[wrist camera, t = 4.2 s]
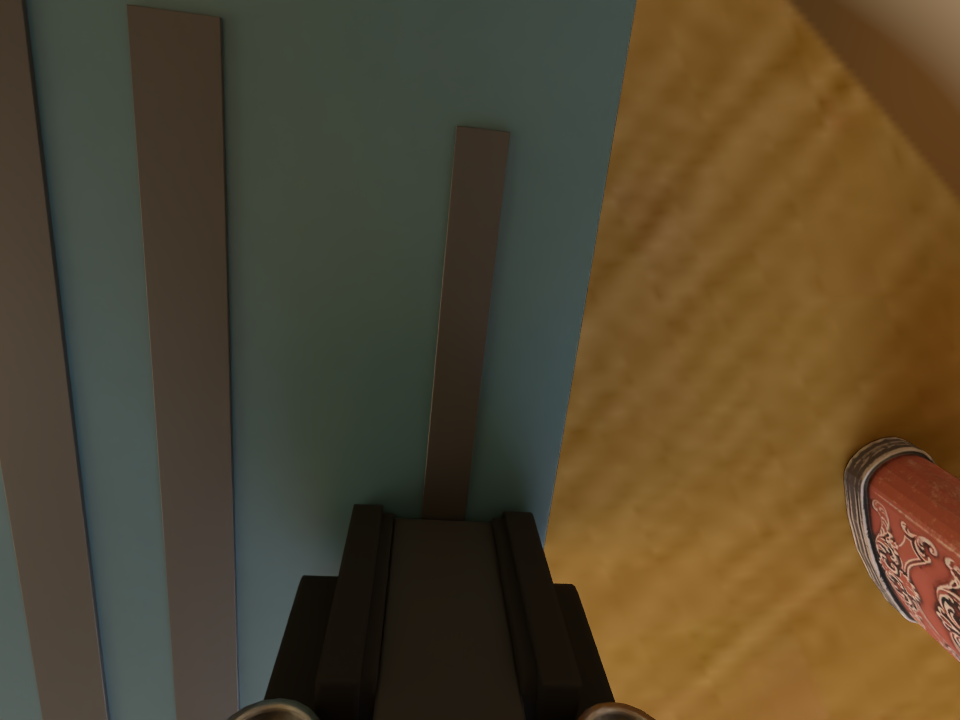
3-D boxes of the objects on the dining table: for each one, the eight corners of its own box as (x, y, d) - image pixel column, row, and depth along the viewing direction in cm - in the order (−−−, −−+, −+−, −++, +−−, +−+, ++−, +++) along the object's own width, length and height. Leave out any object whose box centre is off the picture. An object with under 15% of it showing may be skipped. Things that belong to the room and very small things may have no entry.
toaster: (546, 48, 16) (656, -56, 8) (480, 557, 21) (509, 789, 13) (100, -14, 15) (-268, -206, 7) (145, 544, 20) (-36, 791, 12)
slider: (492, 521, 11) (545, 826, 6) (477, 634, 12) (512, 985, 7) (393, 517, 11) (362, 827, 6) (384, 632, 11) (350, 991, 6)
